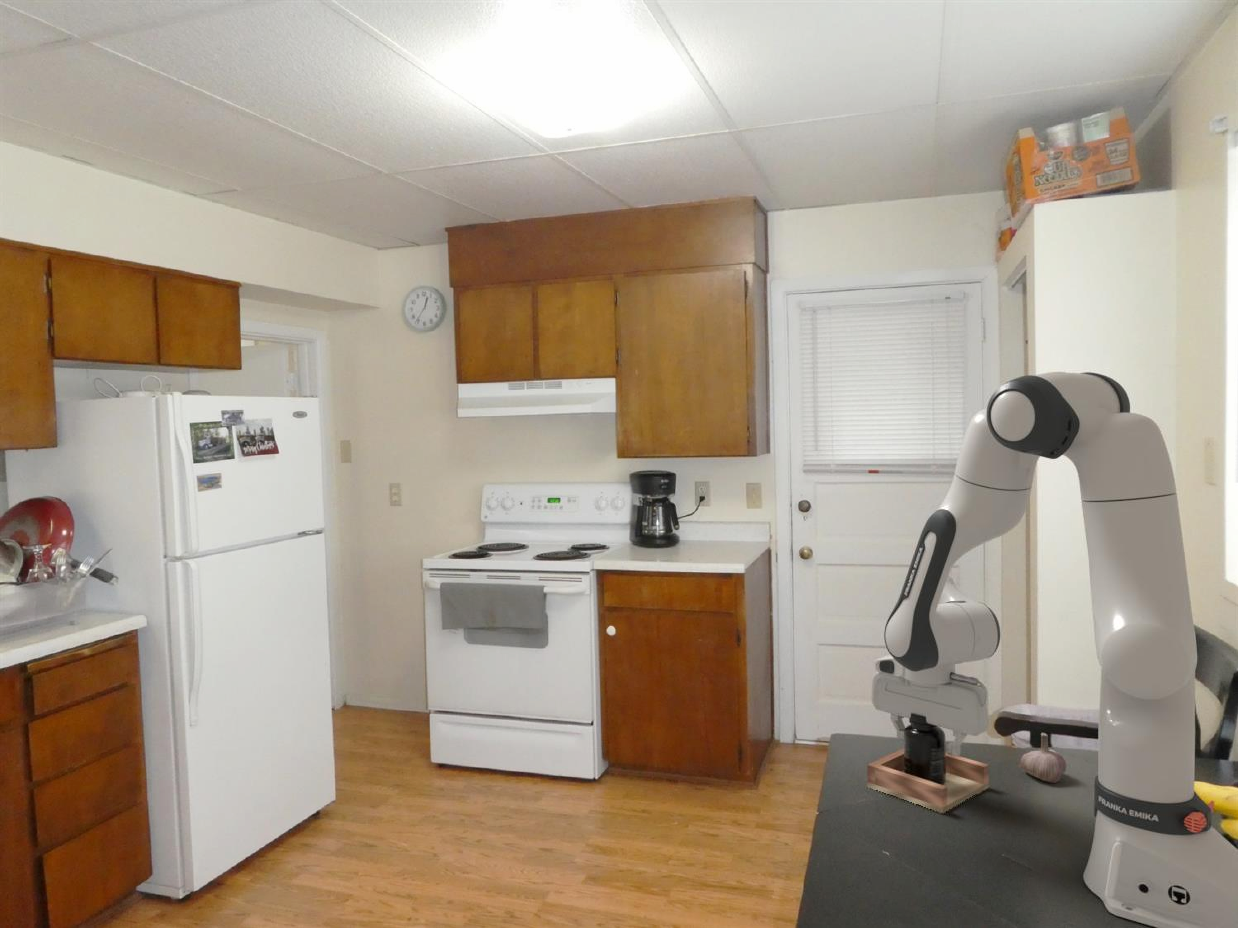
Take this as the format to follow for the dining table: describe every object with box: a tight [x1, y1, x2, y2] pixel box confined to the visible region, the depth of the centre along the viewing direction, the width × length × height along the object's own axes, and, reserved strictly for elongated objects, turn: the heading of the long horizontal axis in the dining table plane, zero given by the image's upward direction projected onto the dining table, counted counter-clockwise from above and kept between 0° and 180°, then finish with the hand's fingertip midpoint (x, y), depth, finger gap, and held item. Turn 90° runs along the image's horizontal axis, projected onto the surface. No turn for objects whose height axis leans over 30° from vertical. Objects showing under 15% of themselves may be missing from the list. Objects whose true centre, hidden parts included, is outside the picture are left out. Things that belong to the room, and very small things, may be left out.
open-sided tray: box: [866, 747, 990, 814], centre depth 153 cm, size 14×15×4 cm
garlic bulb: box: [1019, 732, 1067, 784], centre depth 157 cm, size 8×7×8 cm
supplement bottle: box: [903, 713, 947, 785], centre depth 154 cm, size 7×7×12 cm
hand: (927, 747), depth 153 cm, fingers open, 8 cm apart
